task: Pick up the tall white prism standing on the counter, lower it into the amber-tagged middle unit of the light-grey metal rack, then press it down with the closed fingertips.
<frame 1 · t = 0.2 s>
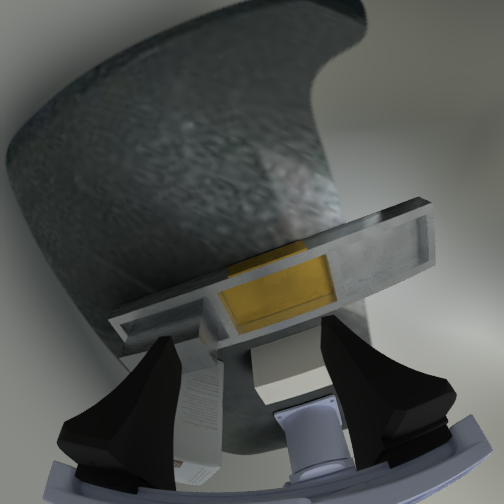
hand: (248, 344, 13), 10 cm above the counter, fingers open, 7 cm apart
rack: (276, 284, 23), on the counter
skincare box: (195, 369, 27), on the counter
tall white prism: (289, 347, 26), on the counter
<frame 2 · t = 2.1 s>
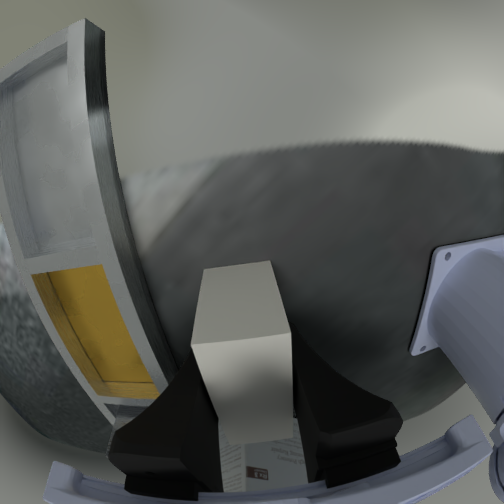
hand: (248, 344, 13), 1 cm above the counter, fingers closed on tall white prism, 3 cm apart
rack: (108, 322, 13), on the counter
skincare box: (256, 421, 18), on the counter
tall white prism: (246, 325, 14), on the counter, touching gripper
when the fingers open (3 cm above the counter, at t = 4.8 s): tall white prism stays where it is, resting on rack.
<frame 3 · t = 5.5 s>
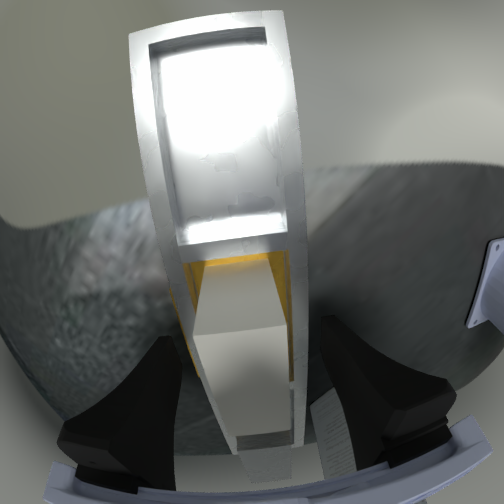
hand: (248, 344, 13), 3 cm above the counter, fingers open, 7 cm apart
rack: (245, 311, 15), on the counter
skincare box: (345, 398, 20), on the counter
tall white prism: (245, 321, 14), point 1 cm above the counter, touching rack
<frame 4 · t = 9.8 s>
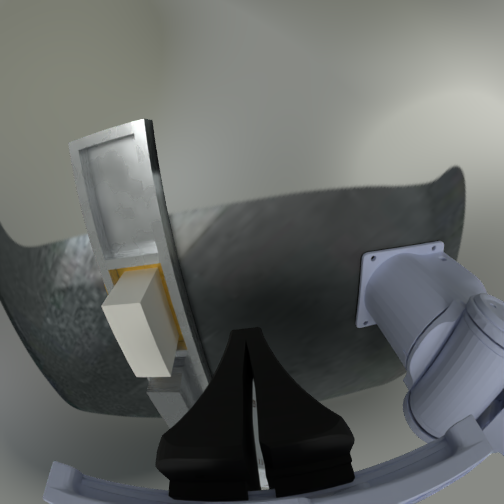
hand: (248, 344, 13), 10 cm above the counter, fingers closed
rack: (154, 300, 23), on the counter
skincare box: (249, 375, 27), on the counter
tall white prism: (152, 305, 22), point 1 cm above the counter, touching rack
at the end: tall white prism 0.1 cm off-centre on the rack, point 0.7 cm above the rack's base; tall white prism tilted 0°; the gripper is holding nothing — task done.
